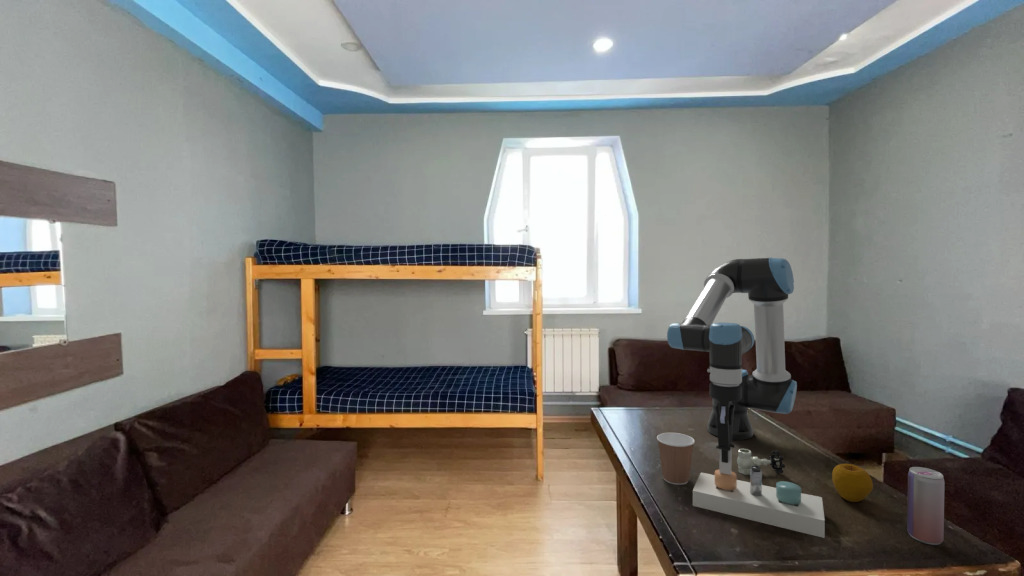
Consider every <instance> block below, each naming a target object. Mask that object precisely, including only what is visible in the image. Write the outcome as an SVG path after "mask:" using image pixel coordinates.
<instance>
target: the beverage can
mask: <svg viewBox="0 0 1024 576" xmlns="http://www.w3.org/2000/svg"><path fill="white" fill-rule="evenodd" d="M908 470H909V471H908V473H907V521H906V522H907V523H906V527H907V528H906V529H907V533H908V534H909V536H910V537H911V538H912V539H914V540H916V541H917V542H920V543H923V544H926V545H931V546H938V545H941V544H943V542H944V537H945V536H944V535H945V534H944V533H945V532H944V529H945V527H944V524H945V523H944V522H945V479H944V475H943V473H941V472H939V471H937V470H934V469H933V468H932V469H931V468H928V467H923V466H922V467H921V466H912V467H909V469H908Z"/></svg>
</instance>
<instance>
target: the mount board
mask: <svg viewBox="0 0 1024 576" xmlns="http://www.w3.org/2000/svg"><path fill="white" fill-rule="evenodd" d="M692 506H693V507H696V508H699V509H700V508H701V509H704V510H708V511H709V510H710V511H712V512H717V513H721V514H725V515H729V516H733V517H737V518H741V519H746V520H749V521H753V522H758V523H762V524H766V525H770V526H774V527H778V528H782V529H786V530H790V531H794V532H799V533H802V534H807V535H811V536H815V537H818V538H823V539H825V537H826V536H825V535H826V533H825V532H826V531H825V530H826V529H825V525H826V524H825V523H826V522H825V521H826V519H825V512H824V503H823V496H822V497H821V496H818V495H812V494H807V493H802V492H801V503H799V504H794V506H793V505H788V504H783V501H781V500H779V499H778V498H777V497H776V487H773V486H769V485H764V484H762V496H754V495H752V494H750V481H745V480H739V479H737V488H736V489H733V490H731V492H729V491H724V490H720V488H719V487H717V486H716V485H715V474H711V473H705V472H700V473H699V475H698V477H697V480H696V482H695V484H694V486H693V489H692Z"/></svg>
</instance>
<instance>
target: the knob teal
mask: <svg viewBox="0 0 1024 576" xmlns="http://www.w3.org/2000/svg"><path fill="white" fill-rule="evenodd" d="M775 485H776V486H775V488H776V497H777V498H778V499H779V500H781V501H783V504H788V505H793V506H794V504H799V503H801V493H802V488H801V486H800V485H798V484H796V483H794V482H790V481H777V482H776V483H775Z"/></svg>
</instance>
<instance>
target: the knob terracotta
mask: <svg viewBox="0 0 1024 576" xmlns="http://www.w3.org/2000/svg"><path fill="white" fill-rule="evenodd" d="M714 475H715V485H716V486H717V487H719V488H720V490H724V491H729V492H731V490H733V489H736V488H737V480H738V475H737V473H736V472H734V471H732V473H731V475H727V474H723V473H719V468H718V469H715V471H714Z"/></svg>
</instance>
